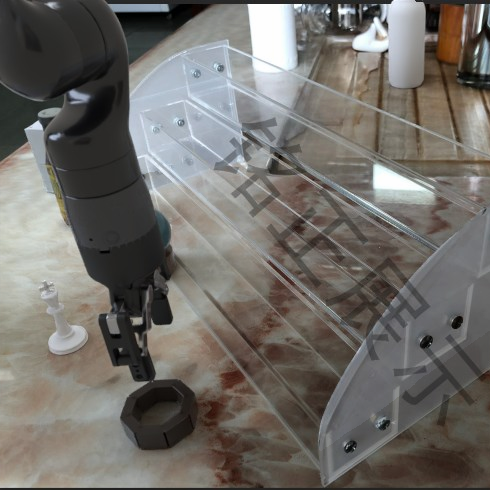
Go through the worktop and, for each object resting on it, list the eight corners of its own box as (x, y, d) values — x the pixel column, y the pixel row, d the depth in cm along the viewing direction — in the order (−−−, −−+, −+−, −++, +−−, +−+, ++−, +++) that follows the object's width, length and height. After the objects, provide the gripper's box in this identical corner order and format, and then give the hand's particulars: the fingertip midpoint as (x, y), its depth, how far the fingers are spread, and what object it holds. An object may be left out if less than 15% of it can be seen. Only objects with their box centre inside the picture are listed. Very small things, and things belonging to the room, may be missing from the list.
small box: (74, 195, 112) (52, 130, 105) (46, 192, 114) (22, 129, 106) (98, 175, 118) (79, 113, 111) (71, 173, 120) (50, 112, 113)
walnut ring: (119, 450, 63) (113, 435, 62) (137, 395, 69) (132, 380, 68) (190, 447, 63) (185, 432, 61) (202, 392, 69) (198, 377, 68)
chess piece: (43, 341, 78) (16, 281, 73) (80, 323, 81) (56, 264, 75) (56, 360, 75) (29, 299, 69) (94, 341, 77) (71, 281, 72)
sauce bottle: (57, 227, 103) (16, 118, 91) (79, 208, 107) (43, 103, 96) (89, 231, 101) (51, 120, 90) (110, 212, 106) (77, 105, 94)
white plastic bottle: (387, 78, 155) (387, -49, 138) (421, 76, 154) (425, -52, 137) (389, 90, 147) (388, -43, 130) (425, 88, 147) (429, -46, 130)
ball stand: (119, 286, 87) (100, 226, 81) (134, 255, 94) (116, 197, 88) (173, 283, 87) (157, 223, 81) (184, 252, 93) (170, 194, 88)
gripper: (99, 188, 61) (138, 309, 70) (45, 270, 50) (101, 402, 59) (170, 183, 61) (200, 305, 70) (134, 265, 49) (176, 398, 58)
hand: (155, 349), depth 64 cm, fingers open, 8 cm apart
